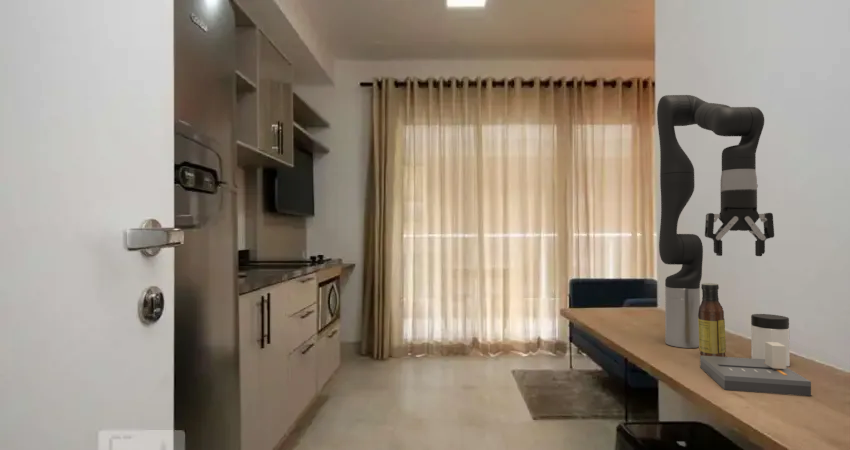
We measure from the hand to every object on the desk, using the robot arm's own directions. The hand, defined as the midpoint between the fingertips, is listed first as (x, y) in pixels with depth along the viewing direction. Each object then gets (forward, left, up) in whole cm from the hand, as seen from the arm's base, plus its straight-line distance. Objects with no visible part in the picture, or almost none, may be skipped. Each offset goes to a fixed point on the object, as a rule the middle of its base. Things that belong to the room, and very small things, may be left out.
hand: (738, 255), depth 120 cm
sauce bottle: (-14, -2, -28) cm, 32 cm away
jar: (-12, +11, -28) cm, 33 cm away
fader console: (+7, 0, -28) cm, 29 cm away
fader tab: (+7, +5, -26) cm, 27 cm away
